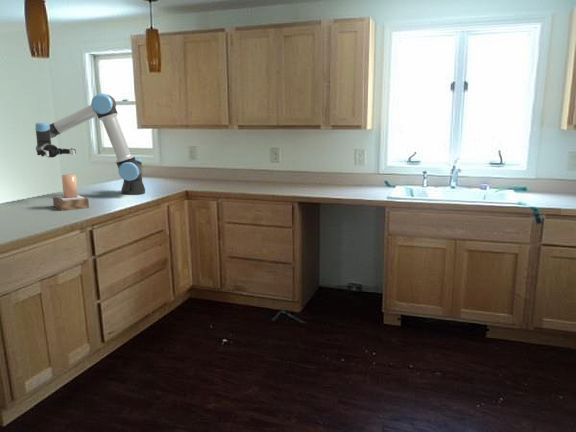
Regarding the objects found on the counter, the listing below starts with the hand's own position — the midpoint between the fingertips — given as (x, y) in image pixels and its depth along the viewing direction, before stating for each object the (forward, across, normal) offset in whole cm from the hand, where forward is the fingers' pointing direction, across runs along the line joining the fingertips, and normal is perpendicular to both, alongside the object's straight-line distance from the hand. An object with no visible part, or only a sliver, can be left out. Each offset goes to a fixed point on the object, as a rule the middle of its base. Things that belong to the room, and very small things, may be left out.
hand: (61, 153), depth 254 cm
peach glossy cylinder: (+10, 0, -23) cm, 25 cm away
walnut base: (+10, 0, -29) cm, 30 cm away
